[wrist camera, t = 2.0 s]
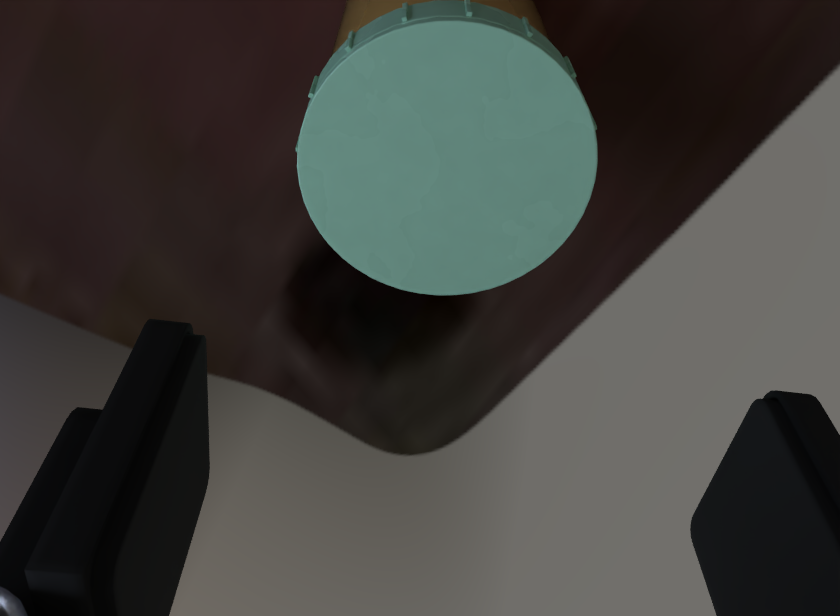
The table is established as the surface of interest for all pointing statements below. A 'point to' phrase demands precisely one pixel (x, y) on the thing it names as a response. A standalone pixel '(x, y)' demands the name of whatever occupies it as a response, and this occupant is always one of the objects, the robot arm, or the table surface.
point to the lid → (446, 148)
